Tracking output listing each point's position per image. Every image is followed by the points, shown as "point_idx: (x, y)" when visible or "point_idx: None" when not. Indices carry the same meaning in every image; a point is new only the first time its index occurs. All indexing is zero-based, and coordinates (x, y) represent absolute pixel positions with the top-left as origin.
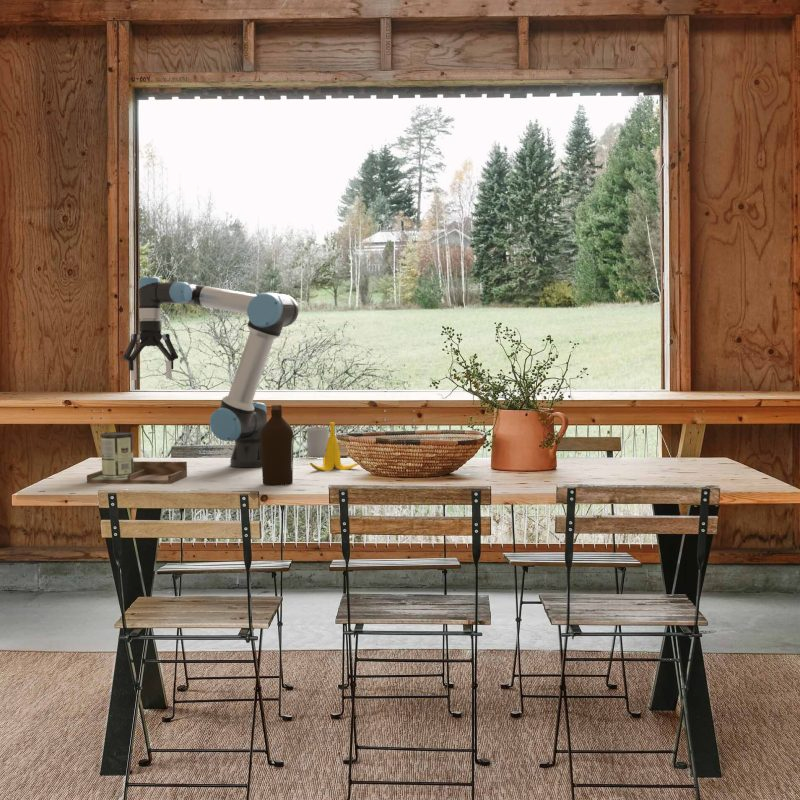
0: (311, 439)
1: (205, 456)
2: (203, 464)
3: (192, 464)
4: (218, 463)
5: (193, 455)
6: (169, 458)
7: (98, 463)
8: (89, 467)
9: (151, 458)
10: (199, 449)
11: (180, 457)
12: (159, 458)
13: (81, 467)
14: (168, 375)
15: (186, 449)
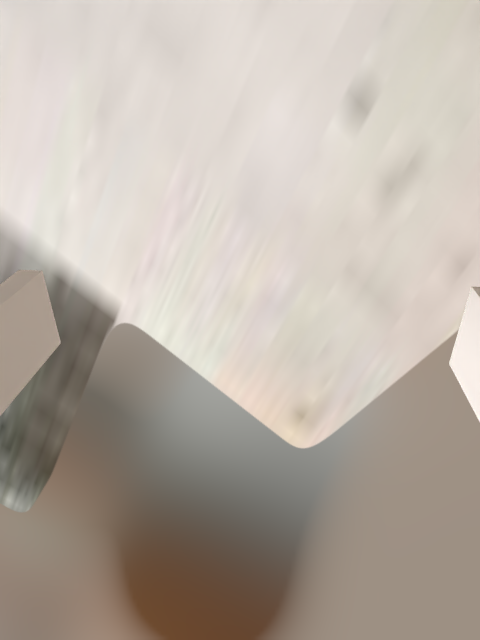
0: None
1: None
2: (96, 63)
3: (133, 98)
4: (34, 48)
5: None
6: (142, 313)
7: (367, 354)
8: (446, 288)
9: (187, 349)
10: (3, 425)
11: (104, 312)
12: (167, 334)
13: (463, 305)
14: (30, 313)
15: (35, 445)
